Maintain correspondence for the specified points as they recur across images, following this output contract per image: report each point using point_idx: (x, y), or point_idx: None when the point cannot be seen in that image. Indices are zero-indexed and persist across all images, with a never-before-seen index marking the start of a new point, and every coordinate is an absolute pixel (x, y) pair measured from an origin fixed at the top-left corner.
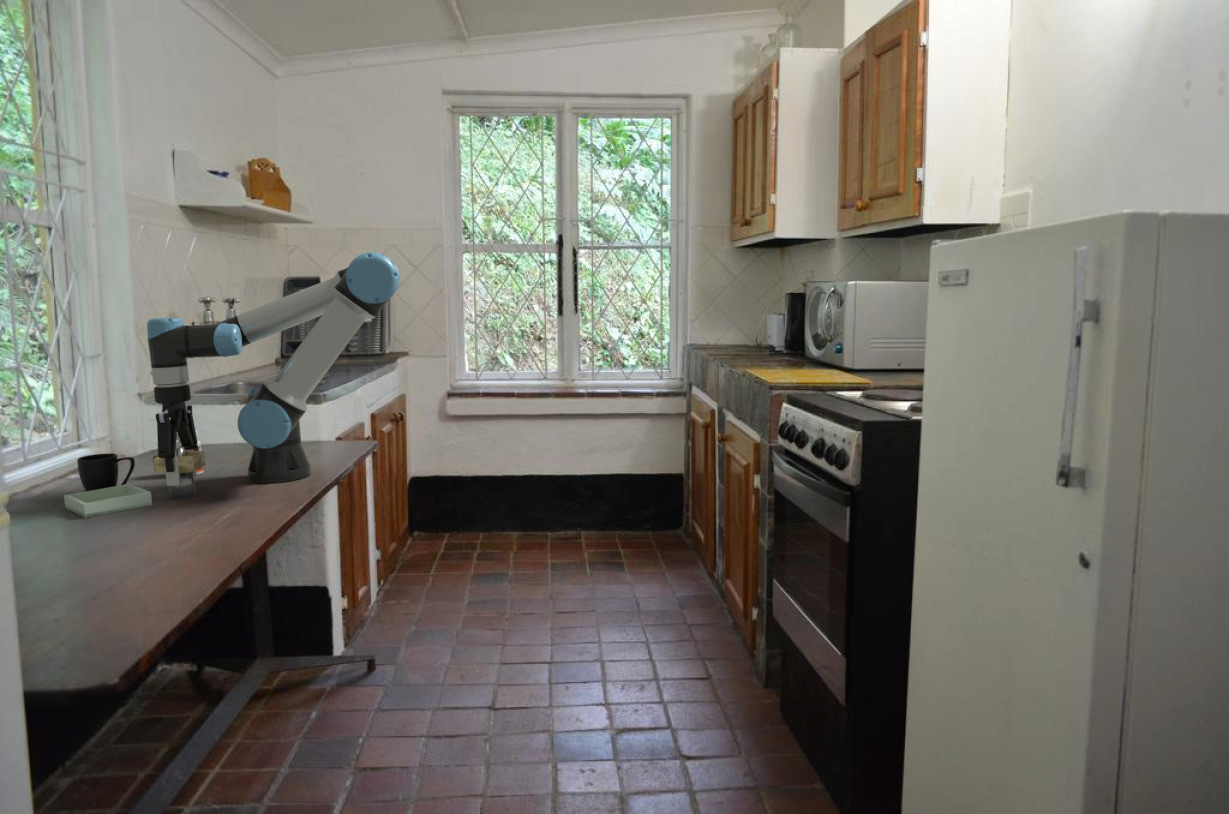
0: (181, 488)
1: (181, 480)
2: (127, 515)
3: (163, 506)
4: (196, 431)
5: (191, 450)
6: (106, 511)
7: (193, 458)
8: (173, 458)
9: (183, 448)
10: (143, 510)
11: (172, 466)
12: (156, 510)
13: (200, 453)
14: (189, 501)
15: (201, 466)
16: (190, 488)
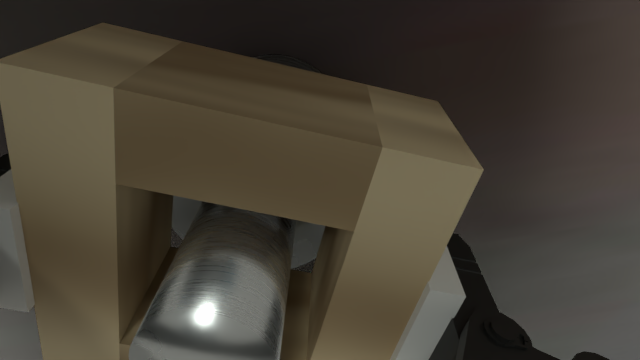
0: None
1: None
2: (581, 277)
3: (493, 173)
4: None
5: (14, 216)
6: None
7: (359, 127)
8: (454, 309)
9: (219, 309)
10: (524, 238)
11: (464, 264)
12: (565, 188)
13: (131, 83)
14: (446, 61)
15: (194, 45)
16: None
